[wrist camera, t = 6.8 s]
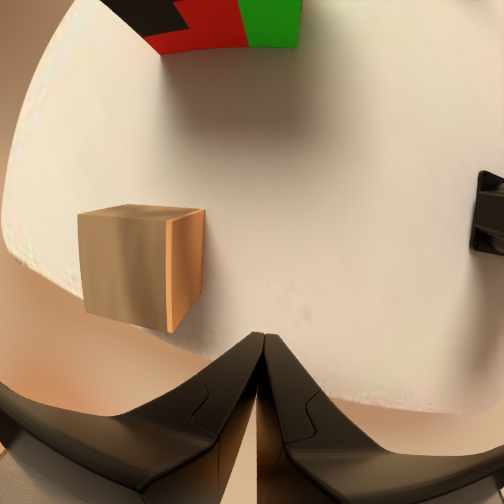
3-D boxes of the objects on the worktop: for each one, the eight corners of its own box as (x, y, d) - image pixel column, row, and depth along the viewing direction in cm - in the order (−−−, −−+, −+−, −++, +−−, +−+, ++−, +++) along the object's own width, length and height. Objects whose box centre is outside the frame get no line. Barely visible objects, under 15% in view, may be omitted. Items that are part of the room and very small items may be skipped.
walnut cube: (172, 221, 13) (77, 214, 13) (172, 332, 14) (85, 312, 14) (204, 209, 18) (128, 204, 19) (200, 292, 20) (129, 280, 20)
